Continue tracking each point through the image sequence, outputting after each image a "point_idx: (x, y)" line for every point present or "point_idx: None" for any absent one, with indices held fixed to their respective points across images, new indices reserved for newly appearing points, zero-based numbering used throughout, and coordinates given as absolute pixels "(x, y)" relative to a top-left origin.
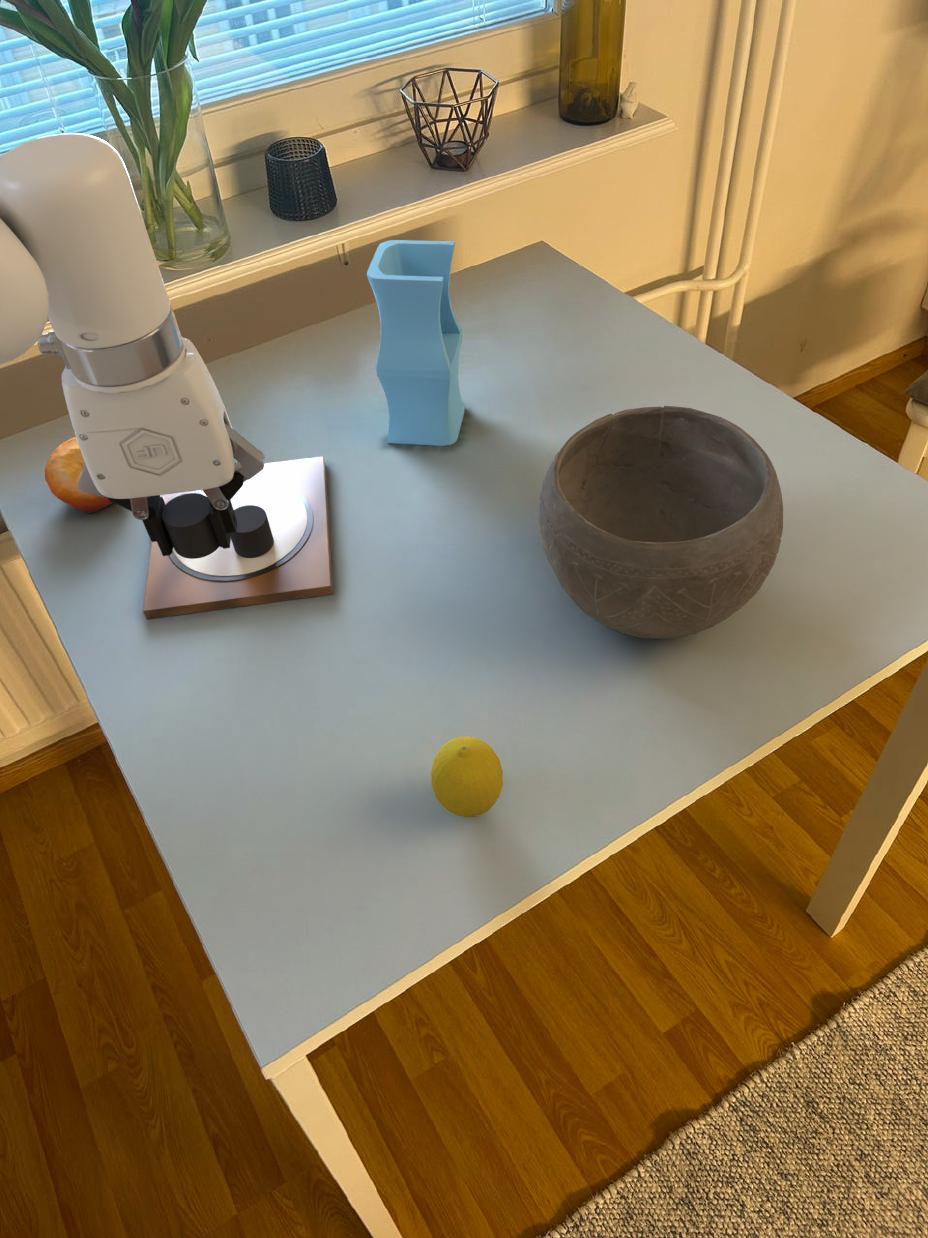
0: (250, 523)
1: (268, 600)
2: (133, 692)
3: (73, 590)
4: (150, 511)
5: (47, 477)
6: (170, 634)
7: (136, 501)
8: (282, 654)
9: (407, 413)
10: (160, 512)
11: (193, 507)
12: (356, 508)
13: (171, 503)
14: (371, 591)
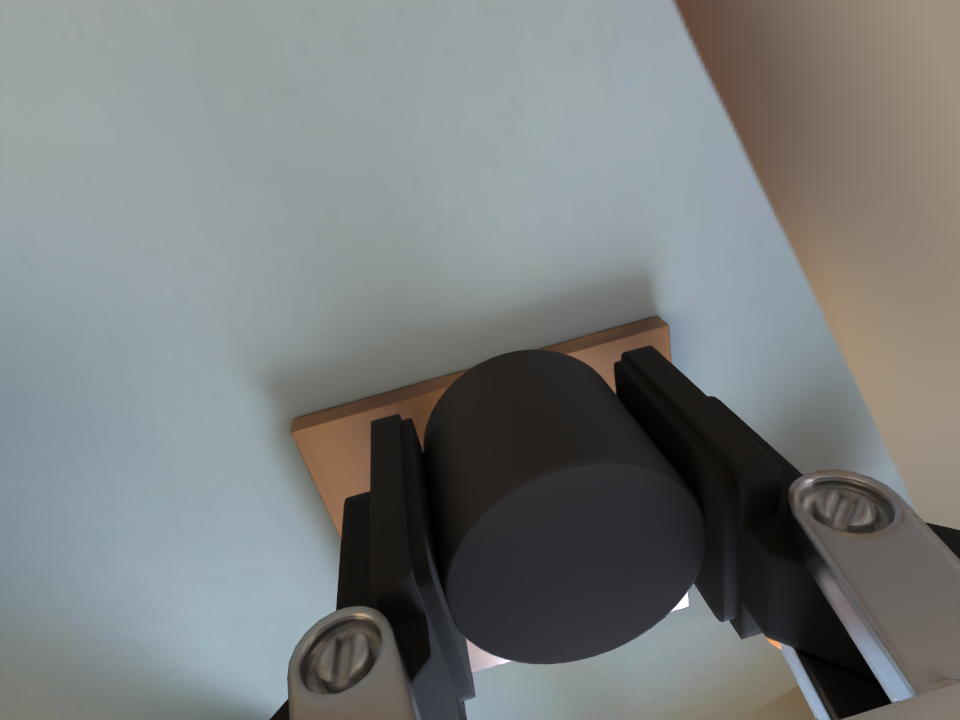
0: None
1: (421, 385)
2: (650, 121)
3: (801, 365)
4: (779, 531)
5: None
6: (602, 283)
7: (936, 592)
8: (348, 255)
9: None
10: (714, 535)
11: (545, 590)
12: (321, 604)
13: (665, 592)
14: (211, 435)
